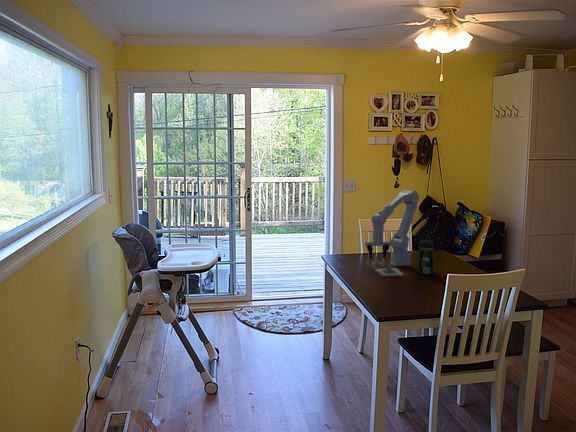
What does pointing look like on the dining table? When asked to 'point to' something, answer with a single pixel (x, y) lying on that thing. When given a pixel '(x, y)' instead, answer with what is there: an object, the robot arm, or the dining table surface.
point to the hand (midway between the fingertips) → (377, 258)
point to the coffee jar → (426, 257)
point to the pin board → (389, 271)
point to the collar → (377, 265)
